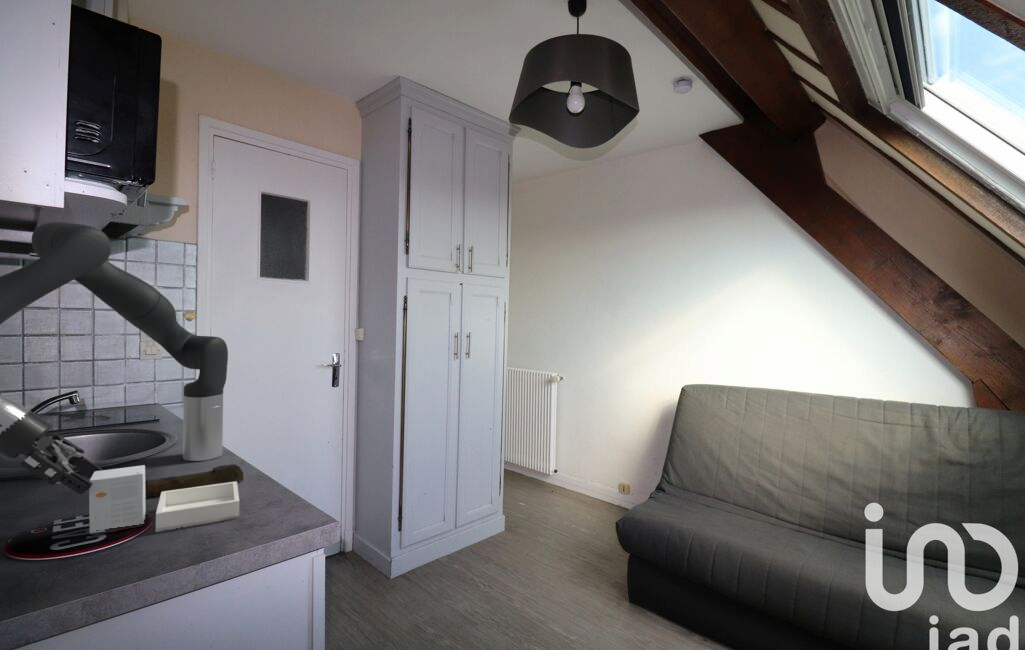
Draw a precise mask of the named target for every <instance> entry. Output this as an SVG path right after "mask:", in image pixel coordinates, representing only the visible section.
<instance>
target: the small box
mask: <svg viewBox="0 0 1025 650" xmlns="http://www.w3.org/2000/svg"><path fill="white" fill-rule="evenodd" d="M88 481H90V482H91V483H92V486H91V487H90V488H89V489H88V494H89V495H88V503H89V504H88V509H89V512H88V514H89V515H88V518H89V519H88V520H89V523H88V524H89V527H88V529H89V532H90V531H96V530H104V529H109V528H117V527H125V526H132V525H139V524H145V521H144V520H146V516H145V515H147V514H146V513H147V512H146V509H147V508H146V504H147V503H146V496H145V481H146V465H145V464H142V465H135V466H128V467H127V466H126V467H120V468H112V469H111V468H110V469H105V470H104V469H102V471H95V472H94V473H93V475H92V477H91V478H89V480H88Z"/></svg>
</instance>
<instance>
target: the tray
mask: <svg viewBox="0 0 1025 650" xmlns="http://www.w3.org/2000/svg"><path fill="white" fill-rule="evenodd" d="M239 494H240V493H239V487H238V482H237V481H236V482H229V483H221V484H214V485H207V486H199V487H192V488H185V489H177V490H170V491H163V492H161V494H160V496H159V499H158V500H159V501H158V504H157V508H156V512H155V533H159V532H165V530H166V531H171V530H176V528H177V529H182V528H181V527H183V528H188V526H189V527H194V525H195V526H199V525H206V524H211V523H218V522H223V521H229V520H230V521H231V520H234V519H235V520H236V519H239V518H240V495H239Z"/></svg>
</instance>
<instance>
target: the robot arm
mask: <svg viewBox="0 0 1025 650" xmlns="http://www.w3.org/2000/svg"><path fill="white" fill-rule="evenodd" d="M31 245H32V248H33V249H32V250H34V252H35V254H36V255H37V256H38V257H39V258H38V259H36V260H34V261H32V262H30V263H29V264H27V265H25V266H23V267H21V268H19V269H16V270H13V271H11V272H8V273H5V274H3V275H0V325H2V324H3V323H5V322H6V321H8V320H9V319H10V318H12V317H13V316H14V315H16V314H17V313H19V312H20V311H22V310H23V309H26V307H28V306H30V305H31V304H33V303H34V302H36V301H38V300H40V299H41V298H43V297H45V296H46V295H49V294H50V293H52V292H53V291H56V290H57V289H59V288H61V287H63V286H64V285H67V284H68V283H70V282H72V281H75V282H77V283H79V284H80V285H81V286H83V287H85V288H86V290H88V291H90V292H91V293H92V294H94V296H96V297H97V298H98V299H99V300H100V301H102V302H104V304H106V305H107V306H108V307H110V308H111V309H112V310H114V312H116V313H117V314H118V315H119V316H121V317H122V318H123V319H124V320H125V321H127V322H128V323H130V325H133V326H134V327H135V328H136V329H138V330H140V331H141V332H143V334H145V335H146V336H148V338H150V339H151V340H153V341H155V342H156V343H157V344H159V346H161V347H162V348H163V349H164V350H165V351H166V352H167V353H168V354H169V355H170V356H171V357H172V358H173V359H174V360H175V361H176V362H177V363H179V364H180V365H181V366H182V367H184V368H186V369H189V370H199V373H198V377H197V379H196V380H194V381H191V382H189V383H186V384H184V386H183V407H182V409H183V411H182V412H183V413H182V415H183V417H182V419H183V423H182V424H183V425H182V428H183V429H182V431H183V432H182V435H183V436H182V459H183V460H184V461H188V462H202V461H210V460H213V459H217V458H219V457H221V456H222V455H223V437H224V435H223V434H224V430H223V428H224V388H225V385H226V381H227V373H228V362H229V361H228V360H229V352H228V351H229V349H228V346H227V343H226V341H225V340H224V339H223V338H221V337H219V336H210V335H196V334H194V333H191V332H190V331H188V330H187V329H185V328H184V327H183V326H182V325H180V324H179V322H178V320H177V312H176V310H175V309H176V308H175V306H174V305H173V303H172V302H171V301H170V300H169V299H168V298H167V297H166V296H164V294H162V293H161V292H160V291H159V290H158V289H156V287H154V286H153V285H151V284H149V283H148V282H147V281H145V280H143V279H141V278H139V277H138V276H136V275H133V274H132V273H129V272H128V271H126V270H124V269H121V268H120V267H118V266H116V265H115V264H113V263H112V262H110V261H108V259H109V257H110V255H111V252H112V243H111V241H110V239H109V237H108V235H107V234H106V233H104V232H103V231H102V230H100V229H98V228H97V227H94V226H91V225H87V224H79V223H73V222H65V221H54V222H53V221H52V222H46V223H42V224H40V225H39V226H37V227H36V228H35V229H34V230H33V233H32V235H31ZM52 428H53V425H52V424H51V423H49V422H48V421H46V420H45V419H43V418H41V417H40V416H39V415H38V414H36V413H35V412H32V411H31V410H30V409H28V408H26V407H25V406H24V405H22V404H21V403H19V402H17V401H16V400H14V399H12V398H10V397H8V396H6V395H4V394H2V393H1V392H0V456H1V457H3V458H4V459H6V460H7V461H13V460H15V459H16V458H17V457H18V456H20V455H23V456H24V457H25V459H23V460H22V461H21V462H20V463H19V465H20V466H21V467H23V468H24V469H26V470H27V471H29V472H30V473H32V474H33V475H35V476H37V477H39V478H40V479H41V480H43V481H44V482H46V483H48V484H49V485H52V486H54V485H55V484H58V485H59V484H62V485H64V486H65V487H67V488H69V489H71V490H72V491H74V492H75V493H77V494H78V495H83V494H85V493H86V492H88V491H89V488H90V487H91V486H92V483H91V482H90V481H89V480H88V479H86V478H89V479H90V478H91V477H92V475H93V473H94V472H95V471H102V470H103V469H102V468H101V467H100V466H99V465H97V464H96V463H94V462H92V461H90V460H89V459H88V458H87V457H86V455H85V450H84V449H82V448H81V447H80V446H77V445H76V444H74V443H72V441H69V440H68V439H66V438H65V437H63V436H61V434H58V433H55V434H53V435H51V436H47V435H46V434H47V433H48V432H49V431H51V430H52ZM72 468H73V469H74V470H75V471H74V470H73V469H72ZM76 471H78V472H79V473H80V474H82V475H84V476H85V477H86V478H85V477H83V476H82V475H80V474H78V473H77V472H76Z"/></svg>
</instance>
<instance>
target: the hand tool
mask: <svg viewBox="0 0 1025 650" xmlns="http://www.w3.org/2000/svg"><path fill="white" fill-rule="evenodd" d="M243 480H244V472H243V470H242V468H241V467H240V466H239V465H237V464H233V463H232V464H225V465H219V466H216V467H213V468H212V470H209V471H203V472H202V471H201V472H196V473H190V474H184V475H179V476H178V475H176V476H175V475H174V476H173V475H172V476H169V477H168V476H167V477H161V478H160V477H159V478H157V479H156V478H155V479H150V478H149V479H148V478H147V479H146V478H145V499H146V498H147V499H148V498H149V497H152V496H153V497H157V496H158V495H161V492H163V491H170V490H177V489H185V488H192V487H199V486H207V485H214V484H221V483H229V482H236V481H237V483H240V482H243ZM239 481H240V482H239Z"/></svg>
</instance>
